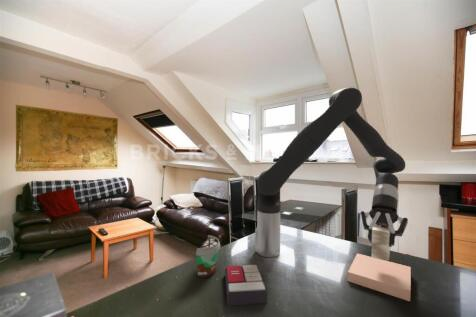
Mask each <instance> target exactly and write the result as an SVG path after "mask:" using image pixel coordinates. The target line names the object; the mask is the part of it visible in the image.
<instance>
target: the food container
mask: <svg viewBox="0 0 476 317" xmlns="http://www.w3.org/2000/svg"><path fill="white" fill-rule="evenodd" d="M220 249H221V243H220V240H219V238H218V237H216V236H214V235H209V234H208V235H207V238H206V240H205V241H204V242H202V243H201V246H200V247H197V248H196V252H195V256H196V264H197V265H196V266H197V277H198V278H205V277H210V276H212V275H214V274H215V273H217V271H218V261H219V260H218V259H219V251H220Z"/></svg>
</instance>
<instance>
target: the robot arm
mask: <svg viewBox="0 0 476 317" xmlns="http://www.w3.org/2000/svg"><path fill="white" fill-rule="evenodd" d="M362 100H363V95H362V92H361V91H360V90H359V89H357V88H355V87H345V88H342V89H338V90H337V91H334V92H333V93H332V94H330V97H329V99H328V108H327V109H326V110H325V111H324V112H323V113H322V114H321V115H320V116H318V117H317V118H316V119H314V120H313V121H311V122H310V123H308V124H307V125H306V126H305V127H304V128H303V129H301V130H300V131H299V133H298V134H296V136H295V137H294V138H293V139H292V141H290V143H289V144H288V146H287V147H286V148H285V150H284V151H283V153H282V155H281V156H280V158H279V159H278V160H277V161H276V162H275V163H273V165H271V167H270V168H268V169H267V170H264V171H262V172H261V173H260V174H259V175H258V178H257V204H256V205H257V206H256V207H257V211H256V212H257V216H256V217H257V219H256V220H257V221H256V222H257V225H256V226H257V227H256V228H255V229H254V230H255V232H254V233H255V234H254V249H255V250H254V252H255V253H257V254H258V255H259V256H261V257H265V258H275V257H278V256H280V254H281V208H282V207H281V204H282V203H281V188H282V187H283V186H284V185H285V183H286V182H287V180H289V178H290V177H291V176H292V175H293V173H294V172H296V171H297V170H298V169H299V167H301V166H302V165H303V164H305V162H306V161H307V160H308V159H310V157H312V156H313V155H314V153H315V152H316V151H317V150H318V149H319V148H320V147H321V146H322V145H323V144H324V143H325V141H326V140H327V139H328V138H329V137H330V135H332V134H333V132H335V130H336V129H337V128H338V127H339V126H341V124H342V123H344V124H345V125H346V126H347V127H348V128H349V130H350V131H351V132H352V133H353V134H354V135H355V137H356V138H357V139H358V141H359V142H360V145H362V146H363V148H364V149H365V151H366V152H367V154H368V155H369V156H370V157H372V158H377V159H375V161H374V162H373V165H372V168H373V171H374V174H375V180H376V181H375V185H374V186H375V187H374V191H373V195H372V201H371V209H370V210H369V211H368V212H365V211H363V210H361V211H360V216H361V219H362V220H361V221H362V225H363V227H362V228H363V229H364V231H368V232H367V240H368V241H369V243H371V244H372V229H373V227H374V226H382V227H385V228H389V229H390V237H389V247H390V248H392V246H393V247H394V246H395V242H396V237H400V238H401V237H402V236H403V235H404V233H405V230H406V229H407V226H408V224H409V221H408V220H409V219H408V218H407V217H400V216H399V215H398V206H399V204H398V203H399V191H398V189H399V178H398V176H396V175H395V174H396V173H401V172H403V171H404V170H405V169H406V161H405V160H404V158H403V157H402V155H400V154H399V153H398V152H397V151H395V150H394V149H393V148H391V146H389V145H388V144H387V143H386V142H385V140H384V139H383V137H382V135H381V134H380V133H379V131H378V130H376V129H375V127H373V125H371V124H370V123H368V121H366V120H365V119H364V118H363V117H362V116H361V115H360V114H359V112H358V111H357V110H358V109H359V107H360V106H361V104H362ZM369 217H370V218H371V222H370V225H369V224H368V223H367V220H368V219H369ZM396 222H398V223H399V227H398V229H396V230H395V227H394V224H395V223H396Z"/></svg>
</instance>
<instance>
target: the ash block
mask: <svg viewBox="0 0 476 317" xmlns="http://www.w3.org/2000/svg"><path fill="white" fill-rule="evenodd" d="M389 237H390V229H389V228H388V227H386V226H381V225H378V226H374V227H373V229H372V243H371V256H370V257H373V258H377V259H381V260H385V261H389V260H390V250H391V247H389ZM389 262H390V261H389Z"/></svg>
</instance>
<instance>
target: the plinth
mask: <svg viewBox="0 0 476 317" xmlns="http://www.w3.org/2000/svg"><path fill="white" fill-rule="evenodd" d="M411 271H412V267H411V266H407V265H403V264H400V263H396V262H393V261H386V260H382V259H378V258H374V257H371V256H369V255H365V254H361V253H356V255H355V257H354V259H353V261H352V262H351V264H350V266H349V269H348V271H347V282H350V283H353V284H355V285H359V286H362V287H363V288H368V289H371V290H374V291H378V292H381V293H383V294H386V295H388V296H393V297H396V298H398V299H401V300H405V301H407V302H411V291H412V290H411V289H412V288H411V287H412V284H411V282H412V281H411V280H412V279H411V278H412V277H411V276H412V275H411Z"/></svg>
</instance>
